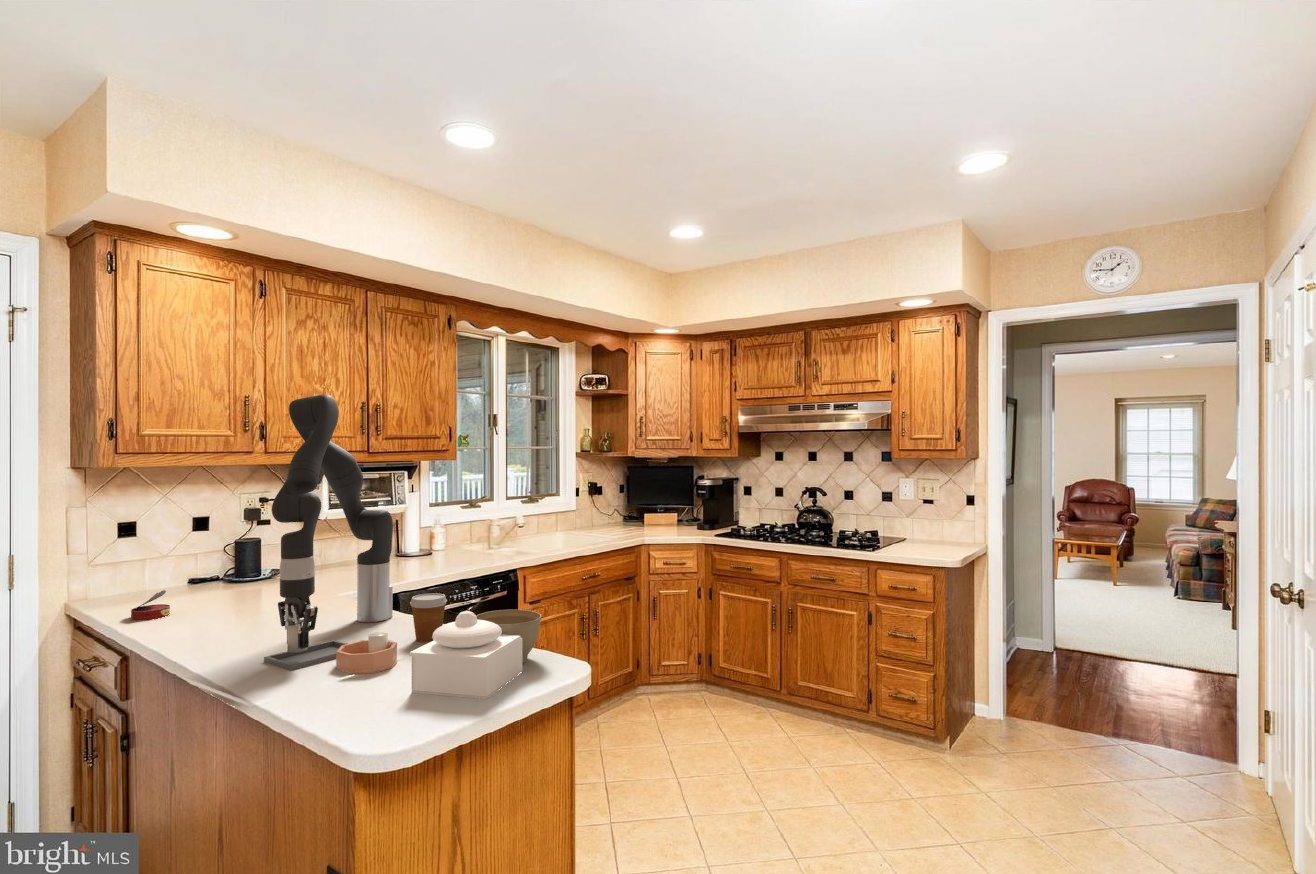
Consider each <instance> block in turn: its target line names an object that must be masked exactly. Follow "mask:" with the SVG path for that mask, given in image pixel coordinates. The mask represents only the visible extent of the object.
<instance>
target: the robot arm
mask: <svg viewBox="0 0 1316 874" xmlns="http://www.w3.org/2000/svg"><path fill="white" fill-rule="evenodd" d="M288 412H289V417H290V420H291V422H292V425H293V426H294V428H295V429H296V431H297V432H298V434H299V436H300V437H301V438H302V440H303V441H304V442H303V443H302V444H301V446H299V447H298V449H297V450H296V452H295V453H294V455H293V456H292V458H291V461H290V463H289V469H288V472H287V476H286V480H285V481H284V483H283V484H282V486H281V487H280V490H279V491H277V492H278V493H277V494H276V496H275V498H274V499H273V502H272V506H271V513H272V517H273V518H274V520H275V521H277V522H279V523H282V524H283V523H285V524H289V523H303V526H302V528H301V529H299V530H295V531H291V532H287V533H286V532H285V533H284V534H283V535H282V536H281V537H280V564H279V596H280V597H281V598H283V599H284V601H278V602H277V609H278V615H279V621H280V627H284V629H285V631H287V626H288V625H290V624H294V623H295V624H297V628H298V648H300V649H303V648H307V647H308V646H310V645H309V644H310V642H309V641H310V640H309V638H310V637H309V635H310V633H309V632H311V631H313V630H316V629H315V628H316V621H317V616H318V612H319V611H318V610H319V607H318V606H317V605H316V606H315V605H314V606H312V605H311V604H312V603H311V599H310V596H312V595H314V594H315V592H316V591H315V588H316V586H315V580H316V579H315V576H316V573H315V570H316V569H315V567H316V566H315V565H316V564H315V558H314V540H315V539H314V538H315V537H314V536H315V532H316V527H317V524H318V521H319V518H320V514H321V510H322V500H321V498H320V497H319V496H318V495H317V494H316V493H313V492H314V491H315V490H316V488H317V487H318V483H319V479H320V474H321V473H320V472H321V471H322V473H323V475H324V477H325V478H326V481H327V483H328V484H329V486H330V488H331V490H332V491H333V493H334V495H335V497H336V498H337V501H338V502H339V504H340V507H341V509H342V511H343V514H344V515H345V519H346V521H347V523H348V527H349V529H350V531H351V533H352V535H353V536H354V537H355V538H356V539H357V540H361V541H371V542H372V543H371V546H370V548H369V549H367V550H365V551H362V552H359V553H358V554H357V559H356V560H357V562H356V563H357V564H356V565H357V567H356V568H357V571H356V574H357V575H356V577H357V579H356V581H357V582H356V585H357V590H356V591H357V592H356V601H357V602H356V604H357V606H356V621H357V622H360V623H376V622H382V621H385V620H389V619H390V618H393V601H394V600H393V598H394V597H393V593H394V591H393V589H394V588H393V586H392V585H391V584H390V583H391V582H390V581H391V577H390V576H391V574H390V571H391V569H390V568H391V565H390V561H391V553H392V550H393V548H392V547H393V534H394V533H393V531H394V523H393V517H392V514H391V513H390V512H389V511H387V510H383V509H379V510H378V509H376V510H374V509H367V508H366V507H365V506H364V504H363V502H362V500H361V498H360V496H361V491H362V489H363V488H362V487H363V484H364V475H363V472H362V470H361V467H360V466H359V464H358V462H357V459H356V458H355V456H354V455H352V454H351V453H350V452H349V451H347V450H346V449H344V448H343V447H341V446H340V445H338V444H336V443H335V442H333V441H331V440H332V438H333V436H334V435H333V434H334V432H335V430H336V427H337V425H338V421H339V418H340V417H339V416H340V415H339V414H340V413H339V406H338V404H337V402H336V400H335V399H334V397H333V396H332V395H329V394H317V395H312V396H306V397H302V398H296V399H294V400H292V401H291V402H290V403H289V407H288ZM302 623H303V627H302Z"/></svg>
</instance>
